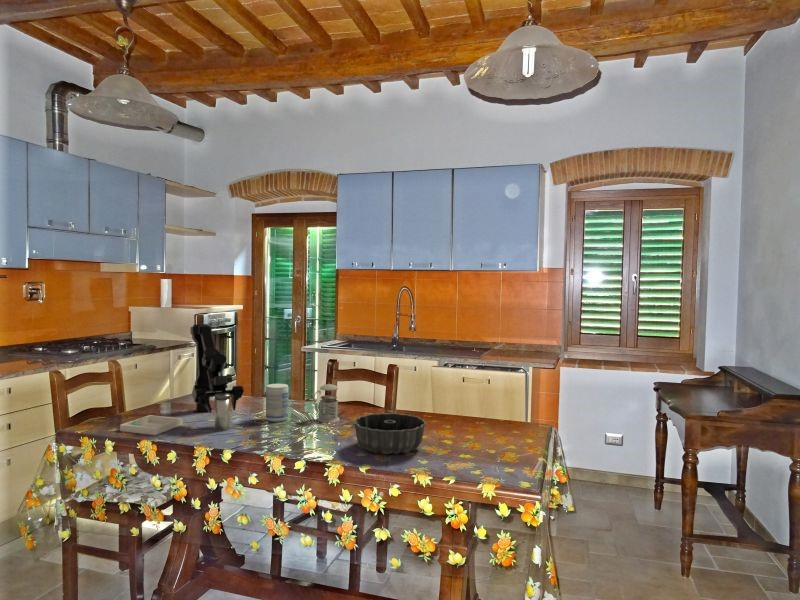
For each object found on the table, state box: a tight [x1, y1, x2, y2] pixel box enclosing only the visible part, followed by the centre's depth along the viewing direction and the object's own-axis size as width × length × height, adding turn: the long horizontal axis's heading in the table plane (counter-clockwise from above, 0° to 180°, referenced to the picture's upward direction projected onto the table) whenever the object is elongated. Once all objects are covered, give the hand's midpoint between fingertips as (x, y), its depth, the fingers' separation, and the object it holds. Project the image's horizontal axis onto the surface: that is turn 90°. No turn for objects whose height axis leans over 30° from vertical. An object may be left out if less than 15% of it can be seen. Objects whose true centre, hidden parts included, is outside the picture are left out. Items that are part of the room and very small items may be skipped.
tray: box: [119, 414, 184, 436], centre depth 220 cm, size 16×16×3 cm
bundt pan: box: [353, 412, 427, 455], centre depth 203 cm, size 26×26×10 cm
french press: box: [312, 361, 341, 423], centre depth 241 cm, size 10×12×25 cm
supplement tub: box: [265, 383, 289, 423], centre depth 239 cm, size 10×10×15 cm
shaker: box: [214, 393, 231, 432], centre depth 222 cm, size 6×6×14 cm
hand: (222, 411), depth 221 cm, fingers open, 9 cm apart
